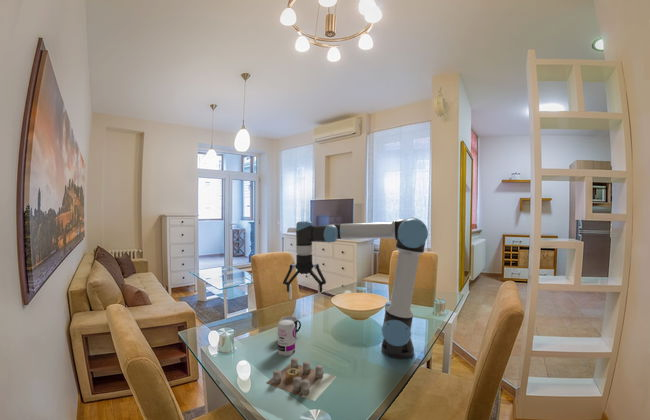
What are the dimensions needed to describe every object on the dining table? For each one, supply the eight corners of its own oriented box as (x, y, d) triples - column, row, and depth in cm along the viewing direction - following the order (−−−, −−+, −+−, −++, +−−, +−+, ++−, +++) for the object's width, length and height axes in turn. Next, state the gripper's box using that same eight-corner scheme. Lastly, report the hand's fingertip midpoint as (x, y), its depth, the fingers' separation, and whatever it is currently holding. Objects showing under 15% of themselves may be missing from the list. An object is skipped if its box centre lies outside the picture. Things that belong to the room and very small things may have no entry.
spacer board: (336, 379, 117) (336, 366, 117) (314, 404, 102) (314, 390, 102) (291, 365, 127) (291, 353, 127) (265, 386, 113) (265, 372, 113)
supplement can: (295, 349, 142) (295, 318, 142) (294, 358, 134) (294, 325, 133) (278, 349, 141) (278, 318, 141) (276, 358, 133) (276, 325, 133)
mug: (285, 344, 147) (285, 324, 147) (277, 337, 154) (277, 318, 154) (305, 337, 155) (305, 318, 155) (296, 331, 162) (296, 313, 162)
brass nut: (300, 375, 117) (300, 369, 117) (293, 382, 113) (293, 376, 113) (292, 372, 120) (291, 366, 119) (284, 379, 115) (284, 372, 115)
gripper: (330, 252, 142) (331, 296, 142) (279, 252, 143) (280, 296, 143) (330, 255, 134) (330, 301, 134) (276, 255, 135) (277, 301, 135)
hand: (304, 298), depth 138 cm, fingers open, 13 cm apart
